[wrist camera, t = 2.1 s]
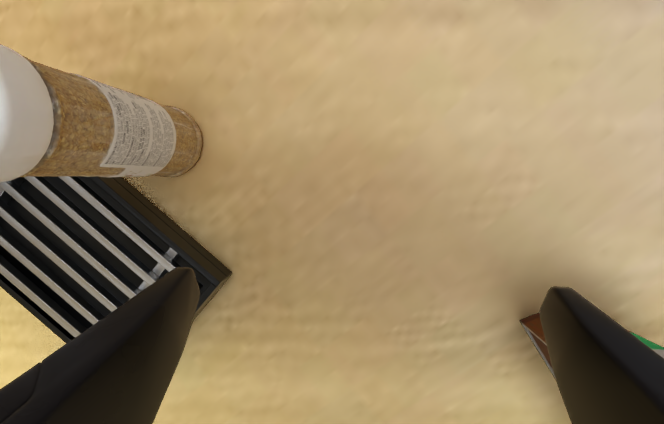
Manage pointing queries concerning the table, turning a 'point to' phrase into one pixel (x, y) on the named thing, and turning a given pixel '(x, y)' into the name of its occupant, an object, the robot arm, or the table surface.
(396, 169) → the table surface
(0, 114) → the sprinkles bottle
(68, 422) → the robot arm
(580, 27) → the table surface
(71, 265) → the dish rack
